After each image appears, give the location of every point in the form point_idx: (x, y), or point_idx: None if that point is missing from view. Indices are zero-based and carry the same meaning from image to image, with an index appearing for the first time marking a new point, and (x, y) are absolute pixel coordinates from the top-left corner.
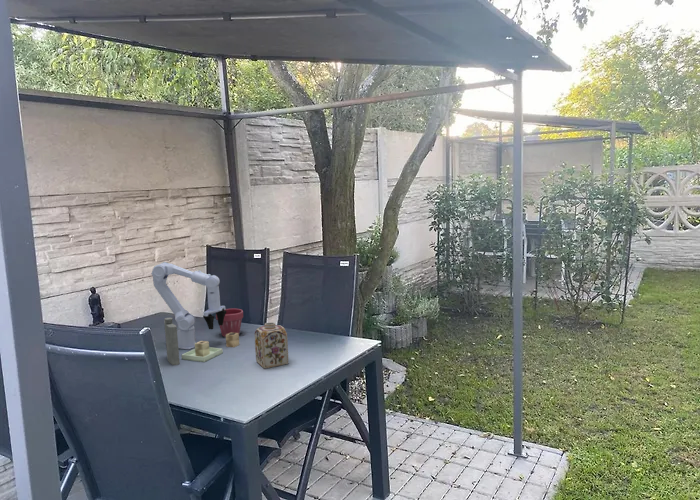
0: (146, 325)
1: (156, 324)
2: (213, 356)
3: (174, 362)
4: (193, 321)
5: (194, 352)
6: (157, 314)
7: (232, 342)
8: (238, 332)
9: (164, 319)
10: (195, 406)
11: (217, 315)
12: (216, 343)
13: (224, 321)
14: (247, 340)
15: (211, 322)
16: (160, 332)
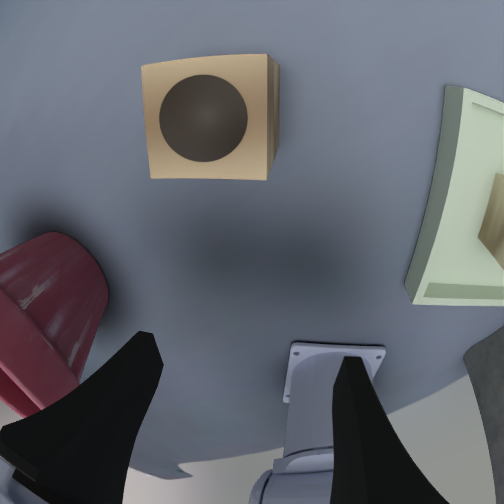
0: (176, 471)
1: (159, 463)
2: None
3: None
4: (294, 497)
5: (467, 286)
6: None
7: (275, 75)
8: (40, 236)
9: None
10: None
11: (123, 466)
12: (229, 269)
13: (59, 353)
14: (88, 91)
15: (400, 444)
16: (202, 457)
